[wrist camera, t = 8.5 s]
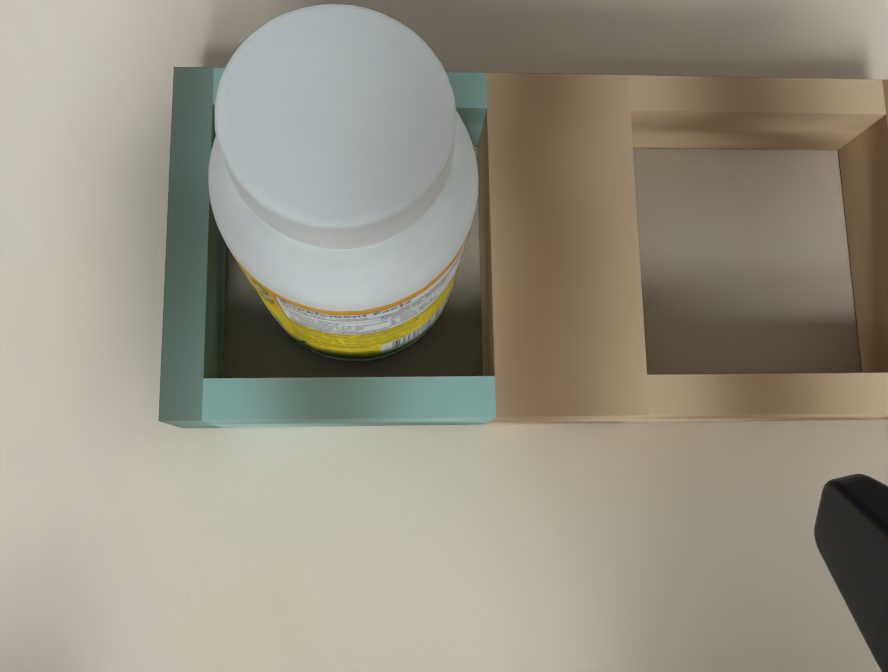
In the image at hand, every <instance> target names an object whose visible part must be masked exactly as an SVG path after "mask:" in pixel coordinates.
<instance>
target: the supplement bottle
mask: <svg viewBox="0 0 888 672" xmlns="http://www.w3.org/2000/svg"><path fill="white" fill-rule="evenodd" d="M214 111H215V133H216V137H215V140H214V143H213V147H212V151H211V156H210V162H209V173H208V184H209V195H210V202H211V206H212V210H213V214H214V217H215V220H216V223H217V225H218V228H219V230H220V232H221V234H222V237H223V239H224V241H225V243H226V245H227V246H228V248H229V250H230V251H231V253H232V255H233V256H234V258H235V259H236V261H237V263H238V264H239V266H240V268H241V269H242V271H243V272H244V273H245V275H246V276H247V278H248V280H249V281H250V283H251V284H252V286H253V287H254V288H255V290H256V291H257V293H258V294H259V296H260V297H261V299H262V300H263V302H264V304H265V305H266V307H267V308H268V310H269V311H270V312H271V314H272V315H273V317H274V318H275V319H276V320H277V321H278V323H279V324H280V325H281V327H282V328H283V329H284V330H285V331H286V332H287V333H288V334H289V335H290V336H291V337H292V338H293V339H294V340H296V341H297V342H298V343H299V344H300V345H302V346H304V347H305V348H307V349H309V350H311V351H312V352H314V353H317V354H319V355H322V356H325V357H329V358H333V359H337V360H344V361H368V360H374V359H379V358H383V357H386V356H390V355H392V354H395V353H397V352H399V351H402V350H403V349H405V348H407V347H409V346H410V345H412V344H413V343H415V342H416V341H417V340H419V339H420V338H421V337H422V336H423V335H424V334H425V333H426V332H427V331H428V330H429V329H430V328H431V327H432V326H433V325H434V323H435V322H436V321H437V319H438V318H439V316H440V315H441V313H442V311H443V310H444V308H445V306H446V303H447V301H448V299H449V297H450V294H451V292H452V289H453V286H454V282H455V278H456V274H457V271H458V267H459V264H460V260H461V257H462V254H463V251H464V248H465V245H466V242H467V239H468V235H469V232H470V229H471V225H472V222H473V218H474V214H475V210H476V205H477V199H478V168H477V160H476V156H475V151H474V148H473V144H472V141H471V139H470V136H469V134H468V131H467V129H466V127H465V125H464V123H463V121H462V119H461V117H460V116H459V114H458V113H457V111H456V106H455V98H454V94H453V90H452V87H451V85H450V82H449V79H448V76H447V74H446V72H445V70H444V68H443V66H442V64H441V62H440V61H439V59H438V58H437V56H436V55H435V54H434V52H433V51H432V50H431V48H430V47H429V46H428V45H427V43H426V42H424V41H423V40H422V39H421V38H420V37H419V36H418V35H417V34H416V33H415V32H414V31H412V30H411V29H410V28H408V27H407V26H405V25H403V24H402V23H400V22H399V21H397V20H396V19H394V18H391V17H389V16H387V15H385V14H383V13H380V12H377V11H375V10H372V9H369V8H364V7H360V6H355V5H346V4H320V5H313V6H308V7H304V8H300V9H296V10H293V11H289V12H287V13H284V14H282V15H279V16H277V17H275V18H273V19H271V20H270V21H268V22H267V23H265V24H264V25H262V26H261V27H259V28H258V29H257V30H255V31H254V32H253V33H252V34H251V35H250V36H249V37H248V38H247V39H246V40H245V41H244V42H243V43H242V44H241V45H240V46H239V47H238V48H237V50H236V51H235V52H234V54H233V55H232V57H231V59H230V60H229V62H228V64H227V66H226V68H225V70H224V72H223V74H222V76H221V79H220V81H219V85H218V89H217V94H216V100H215V109H214Z"/></svg>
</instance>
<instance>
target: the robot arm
mask: <svg viewBox="0 0 888 672" xmlns="http://www.w3.org/2000/svg"><path fill="white" fill-rule="evenodd" d="M814 535H815V541H816V544H817V547H818V549H819V552H820V554H821V556H822V557H823V559H824V561H825V563H826V565H827V567H828V569H829V571H830V573H831V575H832V577H833V579H834V581H835V583H836V585H837V587H838V589H839V591H840V593H841V594H842V596H843V598H844V600H845V602H846V604H847V606H848V608H849V610H850V612H851V614H852V616H853V618H854V620H855V622H856V624H857V626H858V628H859V630H860V631H861V633H862V635H863V637H864V639H865V641H866V643H867V645H868V647H869V649H870V651H871V653H872V655H873V656H874V658H875V660H876V662H877V664H878V665H879V667H880V669H881V671H882V672H888V486H886V485H884V484H883V483H881V482H879V481H877V480H875V479H873V478H871V477H869V476H866V475H863V474H854V475H850V476H845V477H841V478H837V479H833V480H830V481H828V482H827V483H826V484H825V486H824V488H823V491H822V495H821V500H820V504H819V509H818V513H817V518H816V522H815V528H814Z"/></svg>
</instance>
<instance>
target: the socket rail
mask: <svg viewBox="0 0 888 672" xmlns="http://www.w3.org/2000/svg"><path fill="white" fill-rule="evenodd" d="M224 70H225V68H206V67H174V77H173V100H172V123H171V146H170V169H169V192H168V215H167V238H166V261H165V285H164V308H163V331H162V354H161V377H160V400H159V421H160V422H164V423H167V424H171V425H174V426H177V427H181V428H229V427H308V426H387V425H466V424H545V423H623V422H702V421H781V420H860V419H888V80H872V79H816V78H761V77H705V76H650V75H595V74H539V73H484V72H446V74H447V76H448V79H449V82H450V85H451V87H452V90H453V94H454V98H455V106H456V111H457V113H458V114H459V116H460V117H461V119H462V121H463V123H464V125H465V127H466V129H467V131H468V134H469V136H470V139H471V141H472V144H473V146H477V164H478V202H479V240H480V278H481V316H482V354H483V376H436V377H319V378H223V362H224V328H225V295H226V262H227V245H226V243H225V241H224V239H223V237H222V234H221V232H220V230H219V228H218V225H217V223H216V220H215V217H214V214H213V210H212V206H211V202H210V195H209V184H208V173H209V162H210V156H211V151H212V147H213V143H214V140H215V137H216V133H215V111H214V109H215V100H216V94H217V89H218V85H219V81H220V79H221V76H222V74H223V72H224ZM633 147H636V148H721V149H807V150H838V152H839V161H840V171H841V180H842V189H843V198H844V208H845V217H846V226H847V235H848V244H849V254H850V263H851V272H852V281H853V291H854V300H855V309H856V318H857V327H858V337H859V346H860V355H861V364H862V373H790V374H672V375H647V365H646V349H645V333H644V316H643V300H642V284H641V268H640V252H639V235H638V219H637V203H636V187H635V171H634V154H633Z"/></svg>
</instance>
